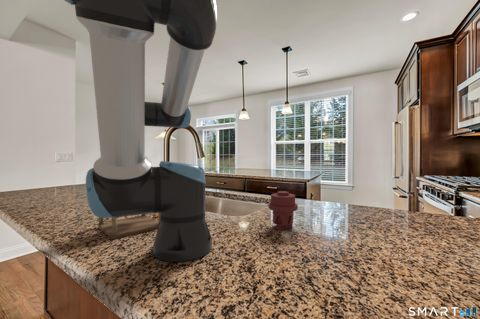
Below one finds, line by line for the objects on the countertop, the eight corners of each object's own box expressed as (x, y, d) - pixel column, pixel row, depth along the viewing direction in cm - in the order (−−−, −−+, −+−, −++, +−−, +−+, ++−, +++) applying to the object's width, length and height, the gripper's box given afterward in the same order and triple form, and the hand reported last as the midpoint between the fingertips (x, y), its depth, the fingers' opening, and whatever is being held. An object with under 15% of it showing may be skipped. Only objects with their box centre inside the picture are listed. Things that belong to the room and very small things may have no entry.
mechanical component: (268, 222, 83) (295, 223, 82) (268, 231, 73) (299, 232, 72) (268, 189, 83) (295, 189, 82) (268, 194, 73) (300, 194, 72)
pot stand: (163, 227, 78) (163, 209, 78) (112, 239, 66) (112, 218, 66) (144, 218, 89) (144, 202, 89) (98, 227, 78) (98, 209, 77)
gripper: (157, 146, 88) (157, 202, 89) (88, 144, 71) (89, 213, 72) (166, 146, 83) (166, 205, 83) (94, 144, 66) (95, 218, 67)
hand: (130, 209), depth 78 cm, fingers closed on flower pot, 10 cm apart
